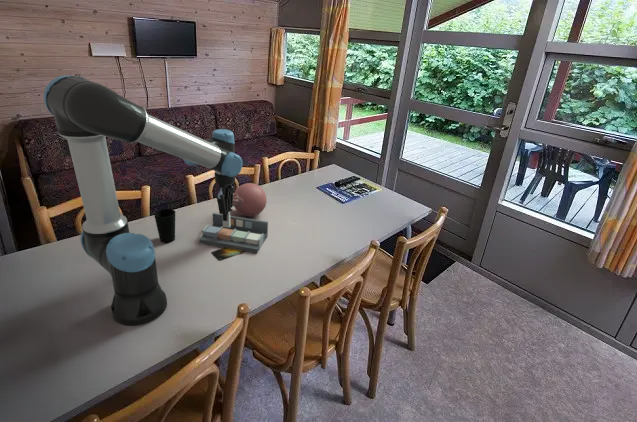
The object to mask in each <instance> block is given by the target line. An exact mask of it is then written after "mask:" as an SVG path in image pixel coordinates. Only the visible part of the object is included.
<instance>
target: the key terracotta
mask: <svg viewBox="0 0 637 422" xmlns="http://www.w3.org/2000/svg"><path fill="white" fill-rule="evenodd" d="M233 231H234V230H232V229H226V228H223V229H222V230H221V231H220V232H219V233H218V238H221V239H224V240H230V234H231V233H232V232H233Z"/></svg>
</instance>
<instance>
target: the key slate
mask: <svg viewBox="0 0 637 422" xmlns="http://www.w3.org/2000/svg"><path fill="white" fill-rule="evenodd" d="M219 229H220V227H214V226H212V225H209V227H208V228H207V229H206V230H205V231H204V232H205V236H207V237H212V238H216V232H217V231H218V230H219Z"/></svg>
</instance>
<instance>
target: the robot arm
mask: <svg viewBox="0 0 637 422" xmlns="http://www.w3.org/2000/svg"><path fill="white" fill-rule="evenodd" d="M43 102H44V104H45V107H46V109H47V110H48V111H49V113H50V114H51V115H52V116H53V117H54V121H55V126H56V129H57V133H58V135H59V136H60V137H62V138H63V139H66V141H67V143H68V148H69V153H70V157H71V160H72V164H73V168H74V172H75V177H76V181H77V185H78V190H79V192H80V193H79V194H80V197H81V201H82V206H83V209H84V214H85V218H86V220H85V221H84V222H83V223H82V227H81V228H82V232H81V233H80V234H81V235H80V244H81V247H82V248H83V250H84V252H85V253H86V255H88V256H89V257H90V258H91V259H92V260H94V261H95V262H96V263H97V264H99V265H100V266H101V267H102V268H104V270H105V271H106V272H108V274H109V275H110V276H111V281H112V286H113V290H114V292H113V297H112V302H111V306H110V307H111V308H110V311H111V316H112V319H113V320H114V321H115V323H118V324H120V325H122V326H128V327H129V326H130V327H134V326H141V325H145V324H149V323H150V322H153V321H155V320H157V319H158V318H159V317H160V316H162V315H163V313H164V312H165V311H166V309H167V308H168V307H167V306H168V300H167V295H166V293H165V292H164V290H163V288H162V287H161V285H160V283H159V280H158V279H159V278H158V269H157V261H156V250H155V248H154V244H153V242H152V240H151V239H150V238H149V237H148V236H146V235H144V234H141V233H135V232H130V228H129V222H128V219H127V217H126V216H125V215H123V214H121V212H120V205H119V201H118V195H117V191H116V186H115V180H114V176H113V170H112V169H113V168H112V165H111V159H110V153H109V149H108V144H107V138H106V137H108V138H112V139H116V140H119V141H122V142H125V143H128V144H134V143H136V142H137V143H140V144H142V145H144V146H147V147H150V148H153V149H155V150H159V151H161V152H164V153H167V154H170V155H172V156H175V157H178V158H180V159H182V160H183V161H184V163H185V164H186V165H187V166H197V165H199V166H201V167H204V168H206V169H210V170H212V171H214V182H215V183H216V184H218V193H216V194H215V198H216V201H217V208H218V212H219V213H218V214H222V218H223V227H228V228H229V227H230V226H231V220H230V216H231V212H233V210H234V209H233V207H234V206H233V195H234V192H235V190H234V189H235V182H236V176H238V175H239V174H240V173H241V172H242V169H243V164H244V163H243V159H242V157H241V156H240V155H238V154H236V153H235V152H236V149H235V148H236V145H235V144H236V143H235V135H234V132H233V131H232V130H229V129H225V128H221V129H220V128H219V129H215V130H213V131H212V135H211V137H210V138H207V139H204V138H201V137H199V136H196V135H195V134H192V133H190V132H188V131H186V130H183V129H182V128H179V127H177V126H174V125H172V124H170V123H169V122H166V121H163V120H162V119H159V118H157V117H155V116H153V115H150V114H148V113H147V110H146V109H145V107H143V106H140V105H138V104H136V103H134V102H132V101H131V100H129V99H128V98H126V97H124V96H122V95H121V94H119V93H117V92H116V91H114V90H112V89H111V88H109V87H107V86H105V85H103V84H101V83H97V82H96V81H95V82H94V81H91V80H89V79H86V78H85V77H82V76H77V75H68V74H67V75H61V76H57V77H55V78H53V79H51V80H50V81H49V82H48V84H47V85H46V86H45V88H44V91H43Z"/></svg>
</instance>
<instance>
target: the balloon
mask: <svg viewBox="0 0 637 422" xmlns="http://www.w3.org/2000/svg"><path fill="white" fill-rule="evenodd" d="M266 206H267V194H266V191H264V189H263V188H262V187H261V186H260V185H258V184H256V183H251V182H247V183H243V184H241V185H239V186H238V187H237V188H236V189H235V190H234V192H233V207H234V209H235V210H236V211H237V212H238V213H239V214H240V215H243V216H245V217H255V216H258V215H259V214H261V213H262V212H263V211H264V209H265V208H266Z"/></svg>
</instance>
